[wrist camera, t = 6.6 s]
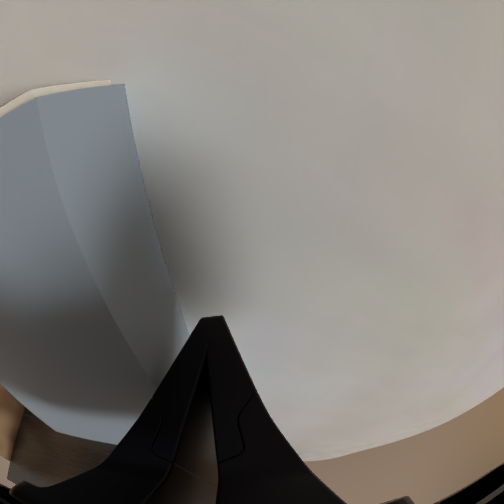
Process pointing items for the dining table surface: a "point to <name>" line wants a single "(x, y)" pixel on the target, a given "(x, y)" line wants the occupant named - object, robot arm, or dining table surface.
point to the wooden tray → (9, 421)
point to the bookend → (51, 454)
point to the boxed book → (80, 264)
